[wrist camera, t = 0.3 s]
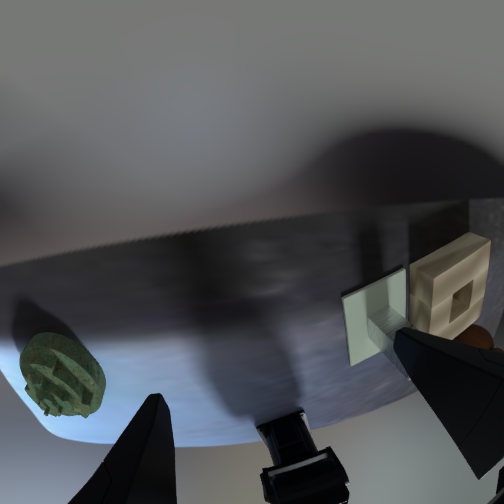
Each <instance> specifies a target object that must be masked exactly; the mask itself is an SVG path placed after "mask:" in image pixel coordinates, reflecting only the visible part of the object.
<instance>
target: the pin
mask: <svg viewBox="0 0 504 504" xmlns="http://www.w3.org/2000/svg"><path fill="white" fill-rule="evenodd" d="M367 327H368V338H369V339H370V340H371V341H372V342H373V343H374V344H375V345H376V346H377V347H378V348H379V349H380V350H381V351H382V353H383V354H384V355H385V356H386V357H387V358H388V359H389V360H390V361H391V362H392V363H393V365H394V366H395V367H396V368H397V369H398V370H399V371H400V372H401V373H402V374H403V375H404V377H405V378H406V379H407V380H408V381H409V380H411V379H410V377H409V376H408V374H407V372H406V370H405V369H404V367H403V365H402V364H401V362H400V360H399V358H398V357H397V355H396V353H395V352H394V349H393V344H394V339H395V333H396V331H397V330H398V329H401V328H403V327H408V328H411V329H415V330H418V329H417V328H416V327H415V326H414V325H412V324H411V323H410V322H409V321H408V320H406V319H405V318H404V317H403V316H401V315H400V314H399V313H398V312H397V311H395V310H394V309H393V308H392V307H390V306H389V305H388V306H387V307H385V308H383V309H381V310H379V311H377V312H375V313H373V314H371V315H369V316H367ZM418 331H419V330H418Z"/></svg>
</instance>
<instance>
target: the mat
mask: <svg viewBox="0 0 504 504" xmlns="http://www.w3.org/2000/svg"><path fill="white" fill-rule="evenodd" d="M341 299H342V306H343V313H344V321H345V329H346V337H347V346H348V356H349V365H350V366H353V365H355V364H357V363H359V362H361V361H363V360H365V359H367V358H369V357H371V356H373V355H374V354H376V353H378V352H380V351H381V350H380V349H379V348H378V347H377V346H376V345H375V344H374V343H373V342H372V341H371V340H370V339H369V338H368V327H367V316H369V315H371V314H373V313H375V312H377V311H379V310H381V309H383V308H385V307H387V306H388V305H389V306H390V307H392V308H393V309H394V310H395V311H397V312H398V313H399V314H400V315H401V316H403V317H404V318H405V305H406V275H405V269H404V268H402V269H400V270H398V271H396V272H394V273H392V274H390V275H388V276H386V277H384V278H382V279H380V280H378V281H376V282H374V283H372V284H369V285H367V286H365V287H363V288H361V289H359V290H357V291H354V292H352V293H350V294H348V295H345V296H343V297H341Z"/></svg>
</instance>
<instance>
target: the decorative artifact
mask: <svg viewBox="0 0 504 504" xmlns="http://www.w3.org/2000/svg"><path fill="white" fill-rule="evenodd" d="M20 369H21V372H22V375H23V377H24V379H25V380H26V382H27V385H26V387H25V391H26V392H27V394H28V395H29V396H30V397H31V399H32V400H33V401H34V402H35V403H36V404H38V406H39V407H40V408H41V409H42V410H44V411H45V412H44V415H45V416H48V414H51V415H53V416H55V417H57V415H58V416H61V414H62V415H66V416H75V415H81V416H83V417H84V418H87V417H88V416H89V414H92V413H94V412H96V411H97V410H98V409H99V408H100V406H101V403H102V399H103V395H104V391H105V387H106V379H105V375H104V372H103V370H102V368H101V366H100V365H99V363H98V362H97V361H96V359H95V358H94V357H93V356H92V355H91V354H90V353H89V352H88V351H87V350H86V349H85V348H84V347H82V346H81V345H80V344H78V343H77V342H75V341H73V340H72V339H70V338H68V337H66V336H63V335H60V334H57V333H52V332H43V333H39V334H36V335H35V336H34V337H32V339H31V340H30V341H29V343H28V344H27V346H26V347H25V349H24V350H23V352H22V353H21V356H20Z"/></svg>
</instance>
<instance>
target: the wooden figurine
mask: <svg viewBox="0 0 504 504" xmlns="http://www.w3.org/2000/svg"><path fill="white" fill-rule="evenodd" d="M454 341H457V342H461V343H465V344H468V345H472V346H476V347H477V348H478V347H480V348H483V349H487V350H491V351H496V352H501V353H504V351H503V350H502V349H500V348H494V342H493V338H492V336H491V334H490V333H489V332H488V331H487V330H486V329H484V328H483V327H481V326H478V325H474V324H471V325H470V326H468V327H467V328H466V329H465V330H464V331H462V332H461V333H460V334H459V335H458V336H456V337H455V338H454Z"/></svg>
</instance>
